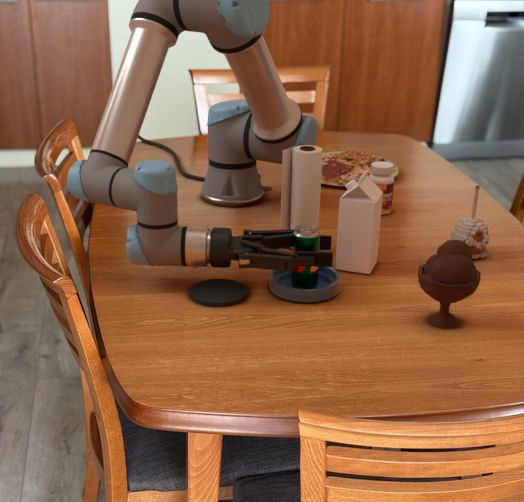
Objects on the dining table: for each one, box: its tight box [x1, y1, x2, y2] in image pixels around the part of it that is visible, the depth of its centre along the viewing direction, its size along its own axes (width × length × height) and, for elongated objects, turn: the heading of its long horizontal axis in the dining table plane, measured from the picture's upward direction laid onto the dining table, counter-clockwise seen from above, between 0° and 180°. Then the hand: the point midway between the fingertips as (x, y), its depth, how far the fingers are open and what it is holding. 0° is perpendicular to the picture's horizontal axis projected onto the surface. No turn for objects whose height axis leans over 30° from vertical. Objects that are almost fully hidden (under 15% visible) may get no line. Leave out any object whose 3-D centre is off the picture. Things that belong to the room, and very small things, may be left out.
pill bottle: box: [368, 162, 395, 216], centre depth 202 cm, size 6×6×11 cm
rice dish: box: [321, 148, 400, 187], centre depth 229 cm, size 28×28×5 cm
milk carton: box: [334, 170, 383, 275], centre depth 170 cm, size 7×7×19 cm
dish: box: [268, 267, 342, 303], centre depth 164 cm, size 13×13×3 cm
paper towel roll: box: [279, 145, 323, 250], centre depth 179 cm, size 7×6×21 cm
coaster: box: [188, 278, 248, 308], centre depth 162 cm, size 11×11×1 cm
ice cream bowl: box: [417, 239, 482, 329], centre depth 150 cm, size 11×11×15 cm
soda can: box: [291, 224, 321, 289], centre depth 161 cm, size 5×5×12 cm
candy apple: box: [449, 184, 491, 260], centre depth 178 cm, size 8×8×15 cm
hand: (331, 251), depth 161 cm, fingers open, 8 cm apart
